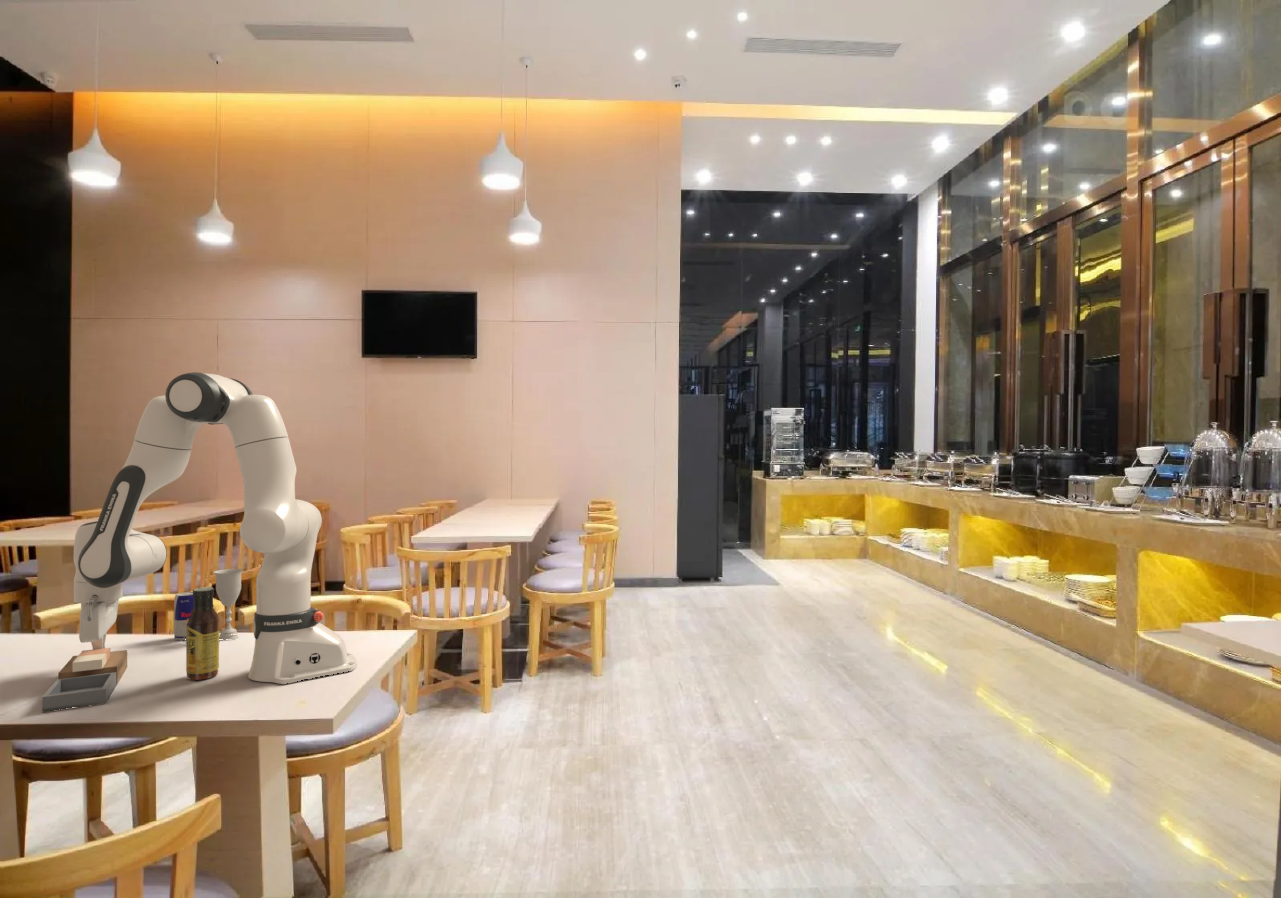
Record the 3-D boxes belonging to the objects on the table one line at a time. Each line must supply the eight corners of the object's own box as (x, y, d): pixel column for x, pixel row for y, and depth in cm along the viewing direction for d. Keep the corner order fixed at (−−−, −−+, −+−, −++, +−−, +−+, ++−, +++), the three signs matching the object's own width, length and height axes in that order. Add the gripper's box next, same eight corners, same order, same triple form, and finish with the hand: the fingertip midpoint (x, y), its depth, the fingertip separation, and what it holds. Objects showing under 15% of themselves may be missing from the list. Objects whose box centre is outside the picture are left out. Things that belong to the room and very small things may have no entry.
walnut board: (127, 667, 166) (127, 650, 166) (117, 684, 154) (117, 666, 154) (73, 673, 161) (73, 656, 161) (58, 692, 149) (58, 673, 149)
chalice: (248, 637, 192) (248, 570, 192) (222, 642, 186) (222, 574, 186) (234, 633, 196) (234, 568, 196) (208, 638, 190) (208, 571, 190)
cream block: (106, 662, 156) (106, 653, 156) (101, 668, 152) (102, 659, 152) (77, 665, 154) (77, 656, 154) (72, 672, 149) (72, 662, 149)
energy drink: (186, 641, 188) (186, 596, 188) (169, 640, 189) (169, 595, 189) (202, 636, 193) (202, 592, 193) (186, 635, 194) (185, 591, 194)
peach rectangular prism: (110, 656, 161) (110, 647, 161) (106, 662, 156) (106, 653, 156) (82, 659, 158) (82, 650, 158) (77, 665, 154) (77, 656, 154)
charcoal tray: (116, 686, 153) (116, 672, 153) (106, 703, 142) (105, 688, 142) (57, 693, 148) (57, 679, 148) (42, 712, 137) (42, 697, 137)
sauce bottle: (184, 676, 159) (184, 587, 159) (217, 671, 163) (217, 584, 163) (187, 684, 154) (187, 592, 154) (221, 678, 158) (221, 589, 158)
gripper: (106, 598, 153) (107, 663, 153) (123, 582, 171) (123, 640, 171) (70, 601, 150) (70, 667, 150) (90, 585, 168) (90, 643, 168)
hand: (98, 652), depth 161 cm, fingers closed
